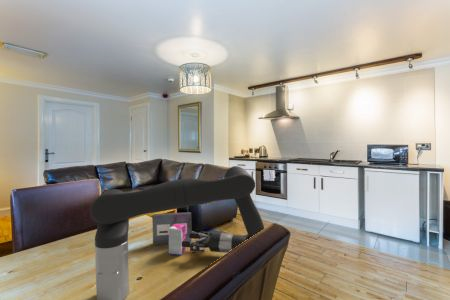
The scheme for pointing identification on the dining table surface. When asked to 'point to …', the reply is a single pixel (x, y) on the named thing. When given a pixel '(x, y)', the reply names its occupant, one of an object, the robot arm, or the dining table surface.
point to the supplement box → (177, 239)
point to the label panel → (165, 222)
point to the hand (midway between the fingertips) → (185, 239)
